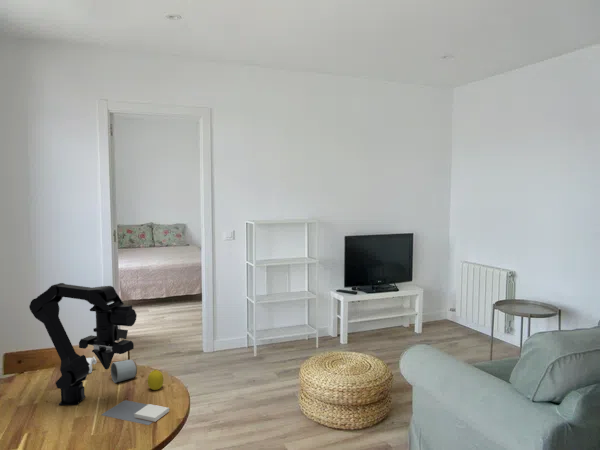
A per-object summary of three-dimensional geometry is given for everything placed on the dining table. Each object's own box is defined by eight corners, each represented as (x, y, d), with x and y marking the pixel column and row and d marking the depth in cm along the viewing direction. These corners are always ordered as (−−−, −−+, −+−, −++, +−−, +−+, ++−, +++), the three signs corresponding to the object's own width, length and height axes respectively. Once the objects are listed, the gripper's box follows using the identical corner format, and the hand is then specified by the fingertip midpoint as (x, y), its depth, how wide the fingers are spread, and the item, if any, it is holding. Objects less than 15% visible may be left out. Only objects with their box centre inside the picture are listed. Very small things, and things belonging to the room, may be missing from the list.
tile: (134, 413, 143) (155, 417, 140) (148, 403, 149) (168, 407, 147) (134, 418, 143) (155, 422, 140) (149, 408, 149) (169, 412, 147)
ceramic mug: (138, 379, 175) (138, 360, 174) (117, 385, 169) (116, 365, 169) (127, 371, 182) (127, 353, 182) (107, 377, 177) (106, 358, 176)
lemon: (158, 394, 161) (158, 373, 160) (145, 393, 162) (144, 372, 162) (166, 388, 166) (165, 367, 166) (152, 387, 168) (152, 366, 167)
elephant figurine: (97, 367, 187) (97, 353, 187) (96, 374, 180) (95, 360, 179) (79, 369, 185) (79, 355, 184) (77, 376, 177) (76, 362, 177)
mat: (100, 417, 145) (100, 414, 145) (124, 402, 155) (124, 400, 155) (148, 427, 139) (148, 425, 139) (170, 411, 149) (170, 408, 149)
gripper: (143, 320, 155) (145, 363, 156) (101, 315, 162) (103, 357, 163) (120, 329, 145) (122, 376, 146) (76, 323, 151) (78, 368, 152)
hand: (107, 368), depth 152 cm, fingers closed
